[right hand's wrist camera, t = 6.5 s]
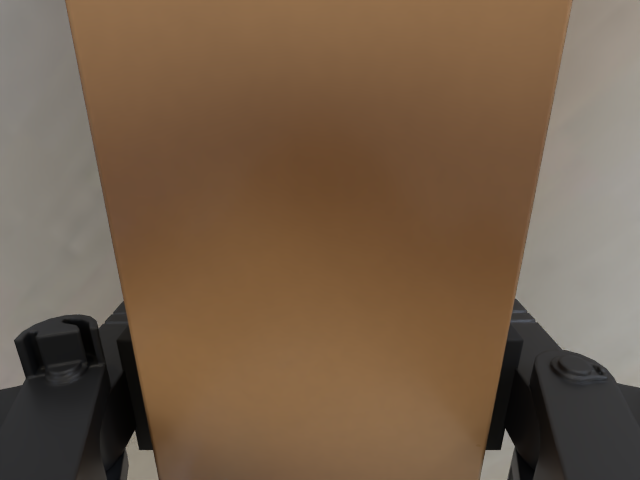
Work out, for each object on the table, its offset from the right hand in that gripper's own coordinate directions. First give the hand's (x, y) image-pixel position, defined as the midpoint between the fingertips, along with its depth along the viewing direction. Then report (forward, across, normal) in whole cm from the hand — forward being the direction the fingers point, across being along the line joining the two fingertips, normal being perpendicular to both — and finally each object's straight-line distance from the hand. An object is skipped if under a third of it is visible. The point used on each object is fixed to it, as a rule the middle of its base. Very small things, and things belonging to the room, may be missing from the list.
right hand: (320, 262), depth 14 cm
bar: (0, 0, -8) cm, 8 cm away
